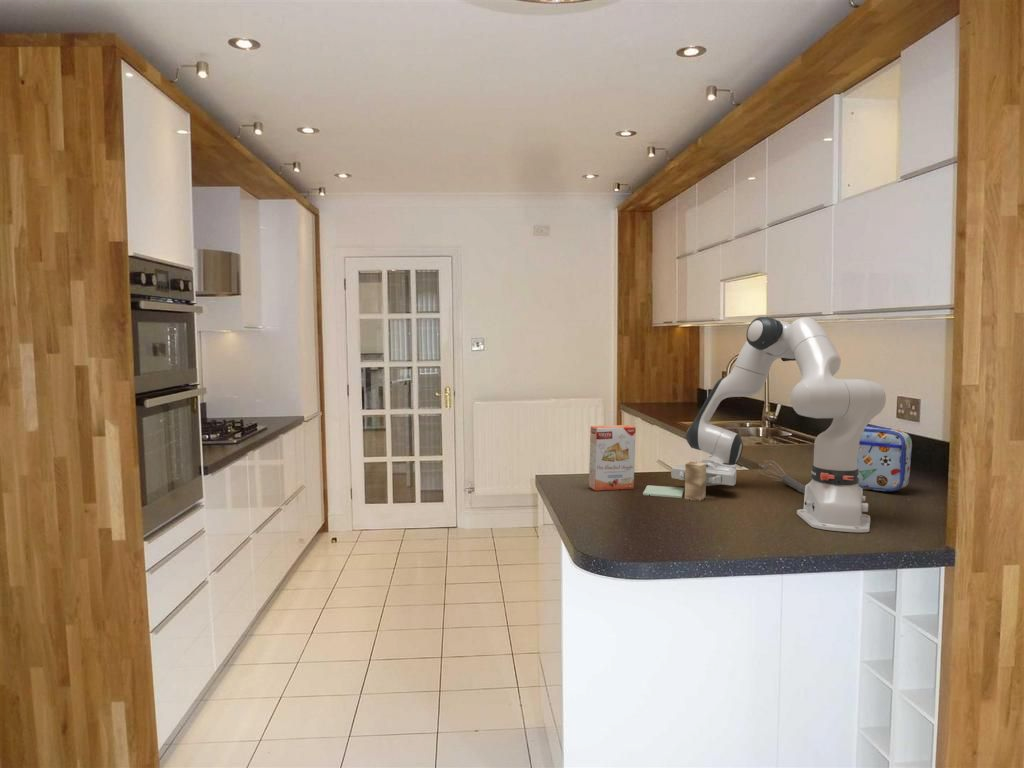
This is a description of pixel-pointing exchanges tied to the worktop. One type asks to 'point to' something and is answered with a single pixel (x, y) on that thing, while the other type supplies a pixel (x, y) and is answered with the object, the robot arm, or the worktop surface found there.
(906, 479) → the lunch box
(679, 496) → the mat
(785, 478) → the kitchen whisk
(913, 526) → the worktop surface
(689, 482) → the oak pillar
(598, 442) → the cracker box
